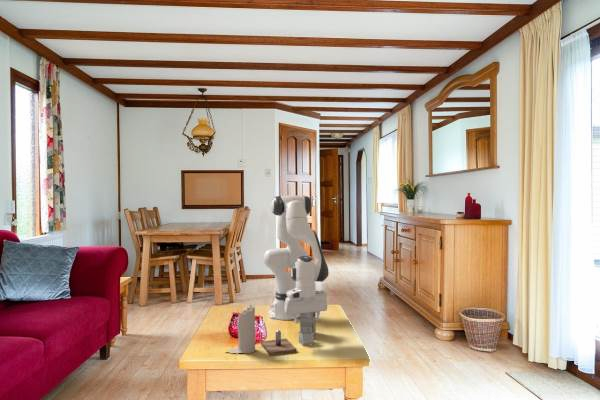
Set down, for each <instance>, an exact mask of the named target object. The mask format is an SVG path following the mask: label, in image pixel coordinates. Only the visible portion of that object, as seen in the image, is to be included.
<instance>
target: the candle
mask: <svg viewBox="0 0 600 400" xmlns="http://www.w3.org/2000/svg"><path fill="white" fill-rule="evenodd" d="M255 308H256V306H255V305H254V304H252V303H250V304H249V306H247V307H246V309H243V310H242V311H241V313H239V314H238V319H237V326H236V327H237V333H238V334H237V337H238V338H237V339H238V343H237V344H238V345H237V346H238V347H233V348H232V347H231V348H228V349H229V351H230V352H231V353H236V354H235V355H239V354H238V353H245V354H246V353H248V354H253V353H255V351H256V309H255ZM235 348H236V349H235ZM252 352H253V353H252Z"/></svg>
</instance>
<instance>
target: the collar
mask: <svg viewBox="0 0 600 400" xmlns="http://www.w3.org/2000/svg"><path fill="white" fill-rule="evenodd" d="M298 343H299V344H301V346H302V347H305V346H312V345H315V335H314V333H313V332H311V331H310V330H307V331H300V330H299V331H298Z"/></svg>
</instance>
